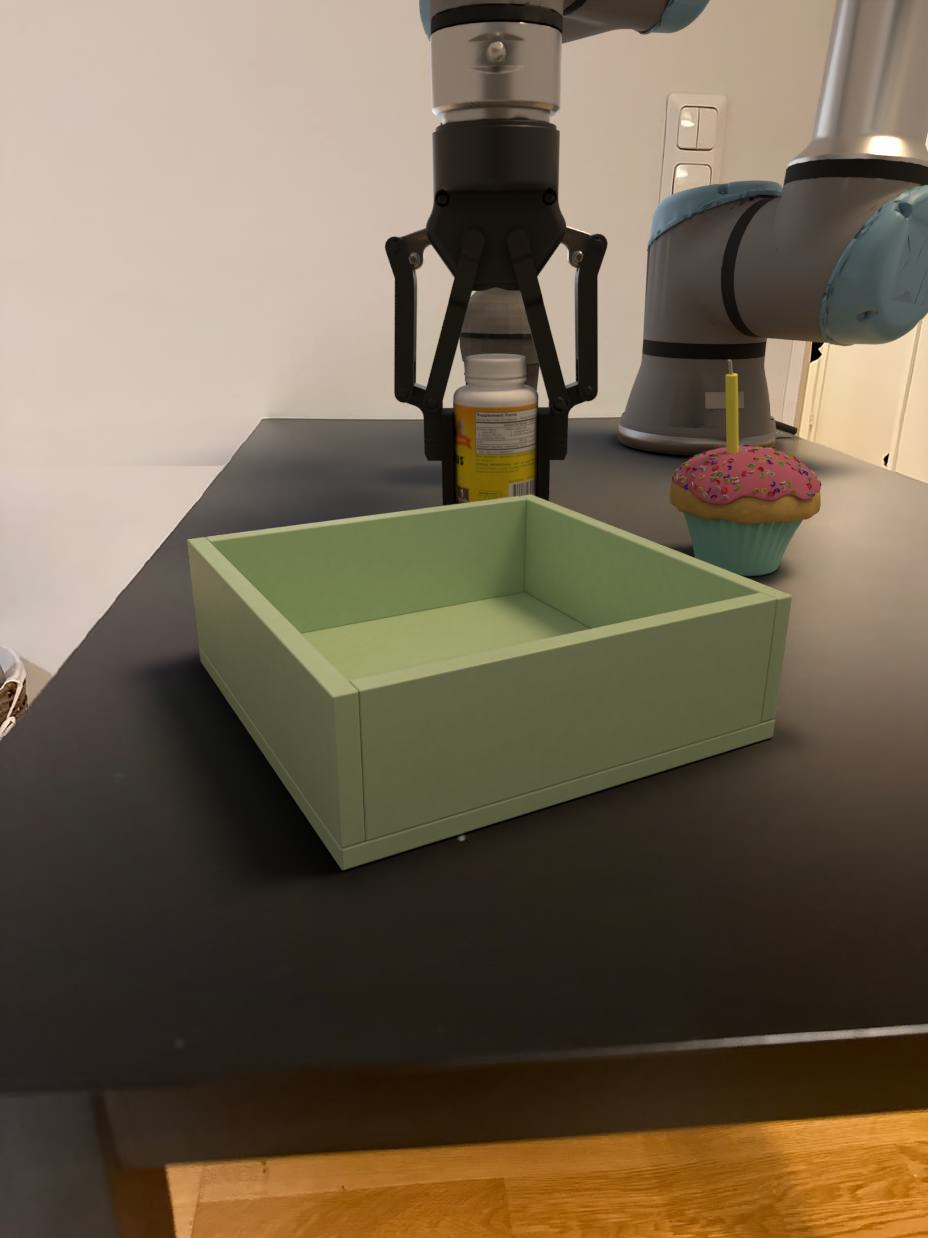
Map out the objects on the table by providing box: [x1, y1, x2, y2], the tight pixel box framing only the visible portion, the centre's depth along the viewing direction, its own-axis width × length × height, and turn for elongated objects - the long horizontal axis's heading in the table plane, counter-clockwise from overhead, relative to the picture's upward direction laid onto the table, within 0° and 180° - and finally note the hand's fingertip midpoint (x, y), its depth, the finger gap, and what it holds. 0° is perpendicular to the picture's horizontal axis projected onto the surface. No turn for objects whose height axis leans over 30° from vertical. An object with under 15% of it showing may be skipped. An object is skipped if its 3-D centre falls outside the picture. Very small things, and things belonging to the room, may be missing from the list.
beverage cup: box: [459, 287, 540, 392], centre depth 75 cm, size 7×7×20 cm
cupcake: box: [669, 360, 822, 577], centre depth 53 cm, size 9×8×12 cm
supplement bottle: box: [452, 354, 539, 504], centre depth 61 cm, size 6×6×10 cm
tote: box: [186, 495, 793, 871], centre depth 38 cm, size 18×18×6 cm
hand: (495, 507), depth 63 cm, fingers closed on supplement bottle, 6 cm apart
